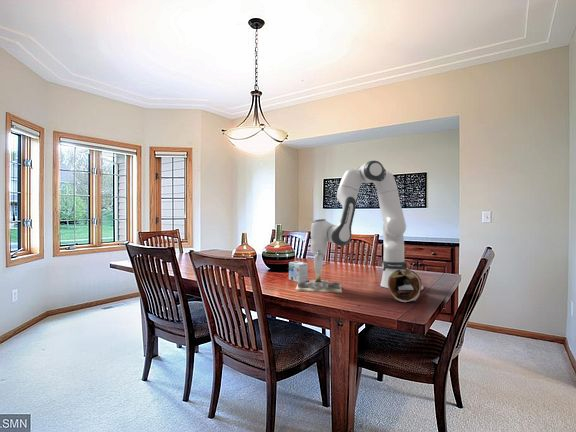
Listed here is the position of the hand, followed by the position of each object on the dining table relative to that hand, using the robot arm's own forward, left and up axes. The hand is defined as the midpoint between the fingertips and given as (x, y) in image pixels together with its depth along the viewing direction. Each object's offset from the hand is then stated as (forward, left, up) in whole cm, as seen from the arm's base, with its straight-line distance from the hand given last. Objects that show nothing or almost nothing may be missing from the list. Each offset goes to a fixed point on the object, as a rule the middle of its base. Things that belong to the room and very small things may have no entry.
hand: (318, 275), depth 182 cm
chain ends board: (0, 0, -7) cm, 7 cm away
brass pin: (0, 0, -4) cm, 4 cm away
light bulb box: (+13, -20, -8) cm, 25 cm away
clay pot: (-43, +9, -8) cm, 45 cm away
